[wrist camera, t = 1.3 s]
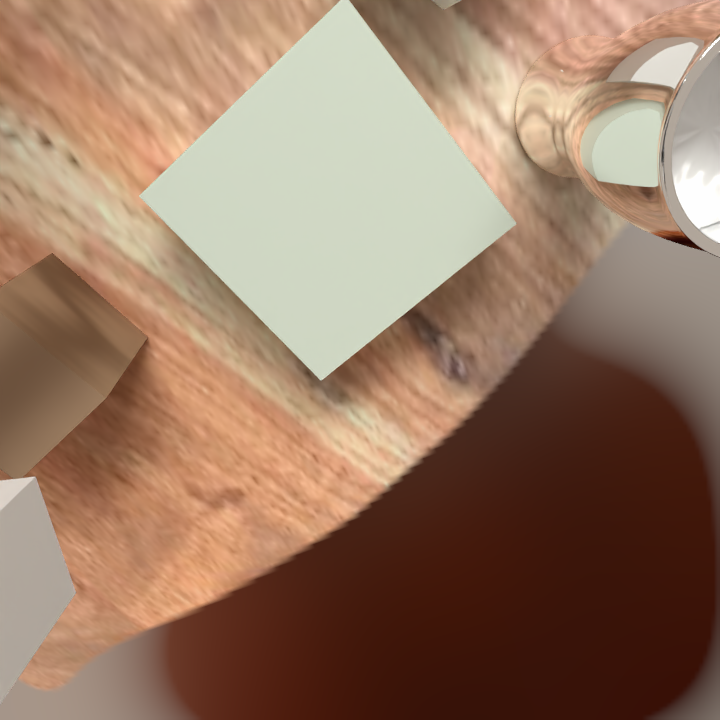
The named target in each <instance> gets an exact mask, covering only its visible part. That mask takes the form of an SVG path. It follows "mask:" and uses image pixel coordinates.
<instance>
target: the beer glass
mask: <svg viewBox="0 0 720 720" xmlns="http://www.w3.org/2000/svg"><path fill="white" fill-rule="evenodd" d="M515 123H516V129H517V134H518V137H519V140H520V142H521V145H522V147H523V148H524V150H525V152H526V154H527V155H528V156H529V158H530V159H531V160H532V161H533V162H534V163H535V164H536V165H538V166H539V167H540V168H542V169H543V170H545V171H547V172H549V173H551V174H554V175H557V176H561V177H568V178H579V179H580V181H581V182H582V183H583V184H584V186H585V187H586V188H587V189H588V190H589V191H590V193H591V194H592V195H593V196H595V197H596V198H597V199H598V200H599V201H600V202H601V203H602V204H603V205H604V206H605V207H607V208H608V209H609V210H610V211H611V212H613V213H614V214H616V215H617V216H619V217H621V218H622V219H624V220H626V221H627V222H629V223H631V224H633V225H634V226H636V227H638V228H640V229H642V230H644V231H647V232H649V233H651V234H654V235H656V236H659V237H661V238H664V239H666V240H669V241H672V242H675V243H678V244H681V245H684V246H687V247H691V248H694V249H698V250H701V251H705V252H708V253H710V254H712V255H714V256H716V257H719V258H720V0H704V1H700V2H696V3H693V4H689V5H685V6H681V7H677V8H674V9H671V10H668V11H665V12H663V13H660V14H658V15H656V16H654V17H652V18H650V19H648V20H646V21H643V22H641V23H639V24H637V25H635V26H633V27H632V28H630V29H628V30H627V31H625V32H623V33H622V34H620V35H618V36H617V37H615V38H614V39H612V38H609V37H605V36H598V35H584V36H578V37H574V38H570V39H568V40H565V41H563V42H561V43H559V44H557V45H555V46H554V47H552V48H551V49H549V50H548V51H547V52H545V53H544V54H543V55H542V56H541V57H540V58H539V59H538V60H537V61H536V62H535V64H534V65H533V66H532V67H531V69H530V70H529V72H528V73H527V75H526V77H525V79H524V81H523V83H522V85H521V88H520V91H519V94H518V97H517V102H516V109H515Z"/></svg>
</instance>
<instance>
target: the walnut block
mask: <svg viewBox="0 0 720 720" xmlns="http://www.w3.org/2000/svg"><path fill="white" fill-rule="evenodd" d="M147 338H148V337H147V336H146V335H145V334H144V333H143V332H142V331H140V330H139V329H138V328H137V327H136V326H135V325H134V324H133V323H131V322H130V321H129V320H128V319H127V318H126V317H125V316H123V315H122V314H121V313H120V312H119V311H118V310H117V309H115V308H114V307H113V306H112V305H111V304H110V303H109V302H107V301H106V300H105V299H104V298H103V297H102V296H101V295H99V294H98V293H97V292H96V291H95V290H94V289H93V288H91V287H90V286H89V285H88V284H87V283H86V282H85V281H83V280H82V279H81V278H80V277H79V276H78V275H77V274H75V273H74V272H73V271H72V270H71V269H70V268H69V267H67V266H66V265H65V264H64V263H63V262H62V261H61V260H60V259H58V258H57V257H56V256H55V255H54V254H53V253H52V254H51V255H49V256H47V257H46V258H44V259H43V260H41V261H40V262H38V263H37V264H35V265H34V266H32V267H31V268H29V269H28V270H26V271H24V272H23V273H21V274H20V275H18V276H17V277H15V278H14V279H12V280H11V281H9V282H8V283H6V284H4V285H3V286H1V287H0V469H1V470H2V471H4V472H5V473H6V474H8V475H9V476H10V477H12V478H13V479H19V478H22V477H23V476H24V475H25V474H27V473H28V472H29V471H30V470H31V469H32V468H33V467H34V466H35V465H36V464H37V463H38V462H39V461H40V460H41V459H42V458H43V457H45V456H46V455H47V454H48V453H49V452H50V451H51V450H52V449H53V448H54V447H55V446H56V445H57V444H58V443H59V442H60V441H61V440H63V439H64V438H65V437H66V436H67V435H68V434H69V433H70V432H71V431H72V430H73V429H74V428H75V427H76V426H77V425H78V424H79V423H81V422H82V421H83V420H84V419H85V418H86V417H87V416H88V415H89V414H90V413H91V412H92V411H93V410H94V409H95V408H96V407H97V406H99V405H100V404H101V403H102V402H103V401H104V400H105V399H106V398H107V396H108V395H109V393H110V392H111V390H112V389H113V387H114V386H115V385H116V383H117V382H118V380H119V379H120V377H121V376H122V374H123V373H124V371H125V370H126V369H127V367H128V366H129V364H130V363H131V361H132V360H133V358H134V357H135V355H136V354H137V352H138V351H139V350H140V348H141V347H142V345H143V344H144V342H145V341H146V339H147Z"/></svg>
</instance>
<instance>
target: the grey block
mask: <svg viewBox="0 0 720 720" xmlns="http://www.w3.org/2000/svg"><path fill="white" fill-rule="evenodd" d="M431 1H433V2H434V3H435V4H437V5H438V6H439V7H440V8H442V9H443V10H445V9H447V8H449V7H450V6H452V5H454V4H456V3H457V2H459V1H461V0H431Z"/></svg>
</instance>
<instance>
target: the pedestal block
mask: <svg viewBox="0 0 720 720" xmlns="http://www.w3.org/2000/svg"><path fill="white" fill-rule="evenodd" d="M139 197H140V198H141V199H142V200H143V201H144V202H145V203H146V204H147V205H148V206H149V207H150V208H151V209H152V210H153V211H154V212H155V213H156V214H157V215H158V216H159V217H160V218H161V219H162V220H163V221H164V222H165V223H166V224H167V225H168V226H169V227H170V228H171V229H172V230H173V231H174V232H175V233H176V234H177V235H178V236H179V237H180V238H181V239H182V240H183V241H184V242H185V243H186V244H187V245H188V246H189V247H190V248H191V249H192V250H193V251H194V252H195V253H196V254H197V255H198V256H199V258H200V259H201V260H202V261H203V262H204V263H205V264H206V265H207V266H208V267H209V268H210V269H211V270H212V271H213V272H214V273H215V274H216V275H217V276H218V277H219V278H220V279H221V280H222V281H223V282H224V283H225V284H226V285H227V286H228V287H229V288H230V289H231V290H232V291H233V292H234V293H235V294H236V295H237V296H238V297H239V298H240V299H241V300H242V301H243V302H244V303H245V304H246V305H247V306H248V307H249V308H250V309H251V310H252V311H253V312H254V313H255V314H256V315H257V316H258V317H259V318H260V319H261V320H262V321H263V322H264V323H265V324H266V325H267V326H268V327H269V329H270V330H271V331H272V332H273V333H274V334H275V335H276V336H277V337H278V338H279V339H280V340H281V341H282V342H283V343H284V344H285V345H286V346H287V347H288V348H289V349H290V350H291V351H292V352H293V353H294V354H295V355H296V356H297V357H298V358H299V359H300V360H301V361H302V362H303V363H304V364H305V365H306V366H307V367H308V368H309V369H310V370H311V371H312V372H313V373H314V374H315V375H316V376H317V377H318V378H319V379H320V380H323V379H324V378H325V377H326V376H328V375H329V374H330V373H331V372H333V371H334V370H335V369H336V368H338V367H339V366H340V365H341V364H343V363H344V362H345V361H346V360H348V359H349V358H350V357H351V356H353V355H354V354H355V353H356V352H358V351H359V350H360V349H361V348H363V347H364V346H365V345H366V344H367V343H369V342H370V341H371V340H372V339H374V338H375V337H376V336H377V335H379V334H380V333H381V332H382V331H384V330H385V329H386V328H387V327H389V326H390V325H391V324H392V323H394V322H395V321H396V320H397V319H399V318H400V317H401V316H402V315H404V314H405V313H406V312H407V311H409V310H410V309H411V308H412V307H414V306H415V305H416V304H417V303H419V302H420V301H421V300H422V299H424V298H425V297H426V296H427V295H429V294H430V293H431V292H432V291H434V290H435V289H436V288H437V287H439V286H440V285H441V284H442V283H443V282H445V281H446V280H447V279H448V278H450V277H451V276H452V275H453V274H455V273H456V272H457V271H458V270H460V269H461V268H462V267H463V266H465V265H466V264H467V263H468V262H470V261H471V260H472V259H473V258H475V257H476V256H477V255H478V254H480V253H481V252H482V251H483V250H485V249H486V248H487V247H488V246H490V245H491V244H492V243H493V242H495V241H496V240H497V239H498V238H500V237H501V236H502V235H503V234H505V233H506V232H507V231H508V230H510V229H511V228H512V227H513V226H515V225H516V224H517V223H516V222H515V221H514V219H513V218H512V217H511V215H510V214H509V213H508V211H507V210H506V209H505V207H504V206H503V205H502V203H501V202H500V201H499V199H498V198H497V197H496V195H495V194H494V193H493V191H492V190H491V189H490V187H489V186H488V185H487V183H486V182H485V181H484V179H483V178H482V177H481V175H480V174H479V173H478V171H477V170H476V169H475V167H474V166H473V165H472V163H471V162H470V161H469V159H468V158H467V157H466V155H465V154H464V153H463V151H462V150H461V149H460V147H459V146H458V145H457V143H456V142H455V141H454V139H453V138H452V137H451V135H450V134H449V133H448V131H447V130H446V129H445V127H444V126H443V125H442V123H441V122H440V121H439V119H438V118H437V117H436V115H435V114H434V113H433V111H432V110H431V109H430V107H429V106H428V105H427V103H426V102H425V101H424V99H423V98H422V97H421V95H420V94H419V93H418V91H417V90H416V89H415V87H414V86H413V85H412V84H411V82H410V81H409V80H408V78H407V77H406V76H405V74H404V73H403V72H402V70H401V69H400V68H399V66H398V65H397V64H396V62H395V61H394V60H393V58H392V57H391V56H390V54H389V53H388V52H387V50H386V49H385V48H384V46H383V45H382V44H381V42H380V41H379V40H378V38H377V37H376V36H375V34H374V33H373V32H372V30H371V29H370V28H369V26H368V25H367V24H366V22H365V21H364V20H363V18H362V17H361V16H360V14H359V13H358V12H357V10H356V9H355V8H354V6H353V5H352V4H351V2H350V1H349V0H340V1H339V2H338V3H337V4H336V5H335V6H334V7H333V8H332V9H331V10H330V11H329V12H328V13H327V14H326V15H325V16H324V17H323V18H322V19H321V20H320V21H319V22H318V23H317V24H316V25H315V26H313V27H312V28H311V29H310V30H309V31H308V32H307V33H306V34H305V35H304V36H303V37H302V38H301V39H300V40H299V41H298V42H297V43H296V44H295V45H294V46H293V47H292V48H291V49H290V50H289V51H288V52H287V53H286V54H285V55H284V56H283V57H282V58H281V59H280V60H278V61H277V62H276V63H275V64H274V65H273V66H272V67H271V68H270V69H269V70H268V71H267V72H266V73H265V74H264V75H263V76H262V77H261V78H260V79H259V80H258V81H257V82H256V83H255V84H254V85H253V86H252V87H251V88H250V89H249V90H248V91H247V92H246V93H245V94H243V95H242V96H241V97H240V98H239V99H238V100H237V101H236V102H235V103H234V104H233V105H232V106H231V107H230V108H229V109H228V110H227V111H226V112H225V113H224V114H223V115H222V116H221V117H220V118H219V119H218V120H217V121H216V122H215V123H214V124H213V125H212V126H211V127H210V128H208V129H207V130H206V131H205V132H204V133H203V134H202V135H201V136H200V137H199V138H198V139H197V140H196V141H195V142H194V143H193V144H192V145H191V146H190V147H189V148H188V149H187V150H186V151H185V152H184V153H183V154H182V155H181V156H180V157H179V158H178V159H177V160H176V161H175V162H173V163H172V164H171V165H170V166H169V167H168V168H167V169H166V170H165V171H164V172H163V173H162V174H161V175H160V176H159V177H158V178H157V179H156V180H155V181H154V182H153V183H152V184H151V185H150V186H149V187H148V188H147V189H146V190H145V191H144V192H143V193H142V194H141V195H140V196H139Z"/></svg>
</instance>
